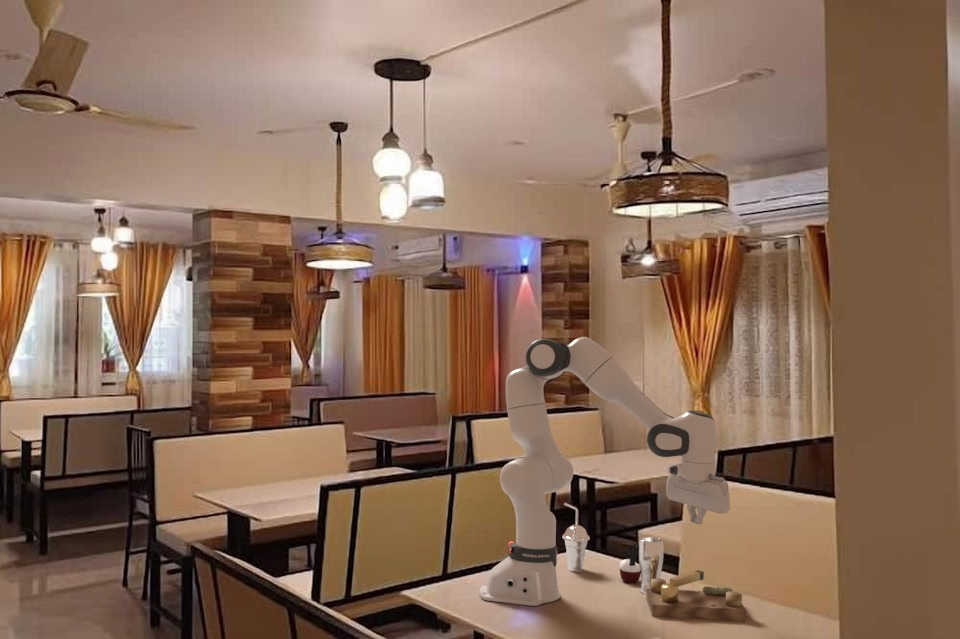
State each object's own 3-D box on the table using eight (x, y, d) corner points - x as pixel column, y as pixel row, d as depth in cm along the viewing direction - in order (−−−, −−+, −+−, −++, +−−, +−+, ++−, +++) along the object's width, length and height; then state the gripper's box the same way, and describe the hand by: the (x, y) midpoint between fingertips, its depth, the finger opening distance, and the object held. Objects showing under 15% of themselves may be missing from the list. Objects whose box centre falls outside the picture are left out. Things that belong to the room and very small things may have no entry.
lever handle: (671, 603, 215) (671, 583, 216) (657, 598, 219) (658, 579, 219) (707, 592, 226) (707, 572, 226) (694, 588, 229) (694, 569, 229)
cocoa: (621, 577, 250) (621, 537, 251) (642, 579, 248) (642, 539, 249) (617, 585, 241) (616, 543, 242) (638, 586, 239) (638, 545, 240)
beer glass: (662, 596, 232) (663, 543, 232) (637, 594, 233) (638, 541, 233) (662, 589, 238) (663, 537, 239) (638, 587, 240) (639, 535, 240)
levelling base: (652, 616, 215) (652, 593, 215) (646, 599, 229) (646, 577, 229) (745, 621, 213) (746, 597, 213) (734, 603, 227) (734, 581, 227)
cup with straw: (567, 574, 251) (568, 508, 251) (557, 566, 260) (558, 502, 260) (593, 572, 253) (594, 507, 254) (582, 564, 262) (583, 501, 262)
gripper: (736, 478, 214) (734, 531, 214) (680, 464, 231) (678, 514, 231) (719, 479, 210) (717, 533, 210) (663, 466, 228) (661, 515, 228)
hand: (696, 523), depth 221 cm, fingers closed
